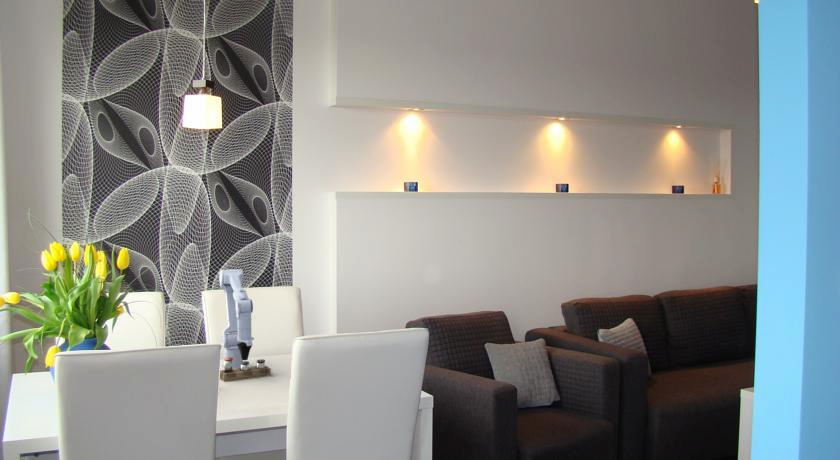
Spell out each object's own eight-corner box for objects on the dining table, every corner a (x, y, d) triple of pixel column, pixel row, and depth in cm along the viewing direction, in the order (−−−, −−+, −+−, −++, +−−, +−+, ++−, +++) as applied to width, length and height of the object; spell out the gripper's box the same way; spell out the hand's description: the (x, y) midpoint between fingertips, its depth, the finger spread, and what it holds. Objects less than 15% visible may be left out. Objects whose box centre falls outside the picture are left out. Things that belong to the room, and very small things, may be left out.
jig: (218, 377, 308) (218, 370, 308) (264, 371, 318) (264, 365, 318) (224, 381, 301) (224, 374, 301) (270, 375, 311) (270, 368, 311)
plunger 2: (255, 372, 314) (255, 360, 313) (263, 371, 315) (263, 359, 315) (258, 374, 311) (258, 361, 310) (266, 373, 312) (266, 360, 312)
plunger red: (223, 371, 306) (222, 358, 306) (231, 370, 308) (231, 357, 308) (225, 373, 303) (225, 359, 303) (234, 371, 305) (233, 358, 305)
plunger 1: (239, 374, 310) (239, 361, 310) (247, 373, 312) (247, 360, 312) (242, 376, 307) (241, 363, 307) (250, 375, 309) (250, 362, 309)
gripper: (259, 329, 304) (259, 362, 305) (248, 324, 317) (248, 355, 318) (242, 331, 301) (242, 364, 301) (232, 326, 313) (232, 357, 314)
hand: (244, 359), depth 309 cm, fingers closed
